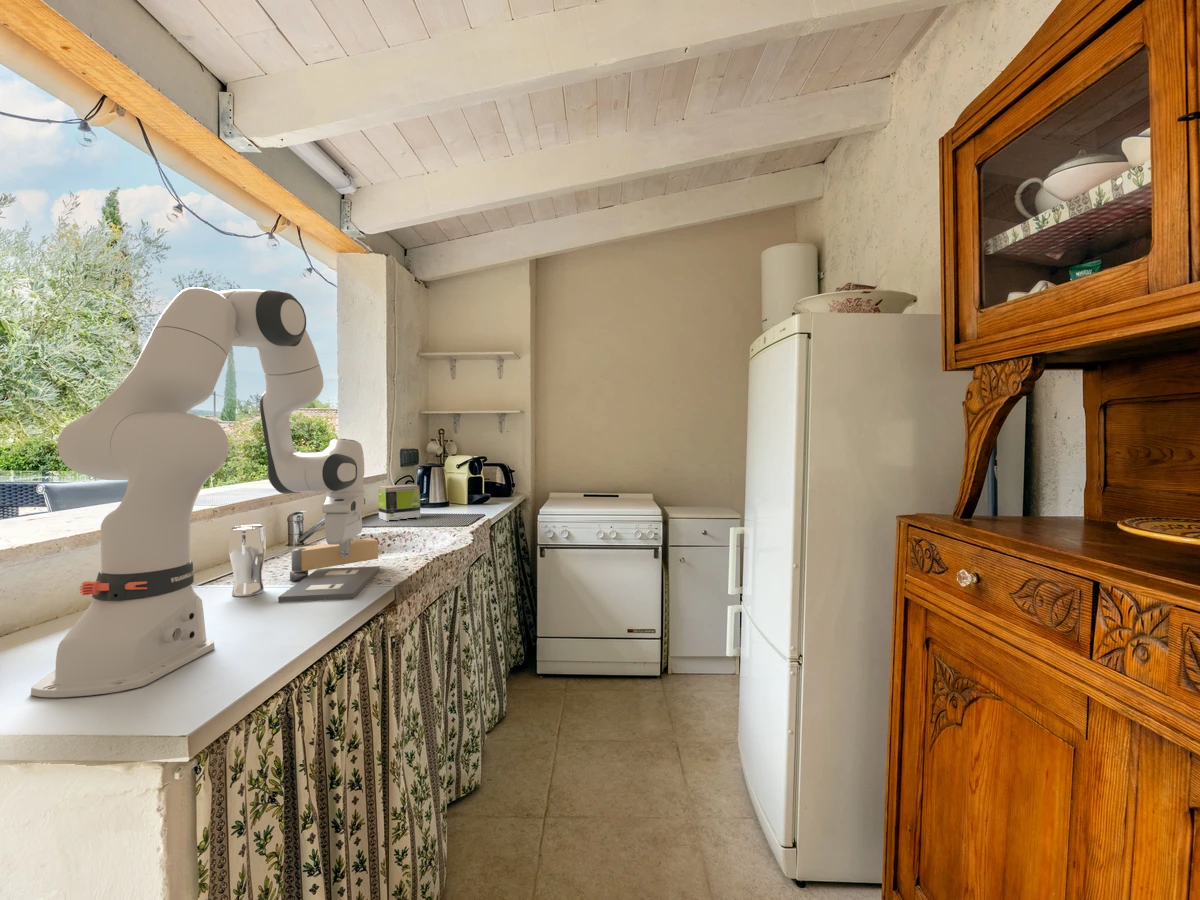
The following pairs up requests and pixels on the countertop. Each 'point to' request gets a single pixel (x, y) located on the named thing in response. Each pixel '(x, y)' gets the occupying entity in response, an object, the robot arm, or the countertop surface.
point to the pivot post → (298, 575)
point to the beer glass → (247, 559)
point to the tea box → (399, 502)
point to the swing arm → (333, 555)
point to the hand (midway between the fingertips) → (345, 556)
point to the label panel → (330, 584)
